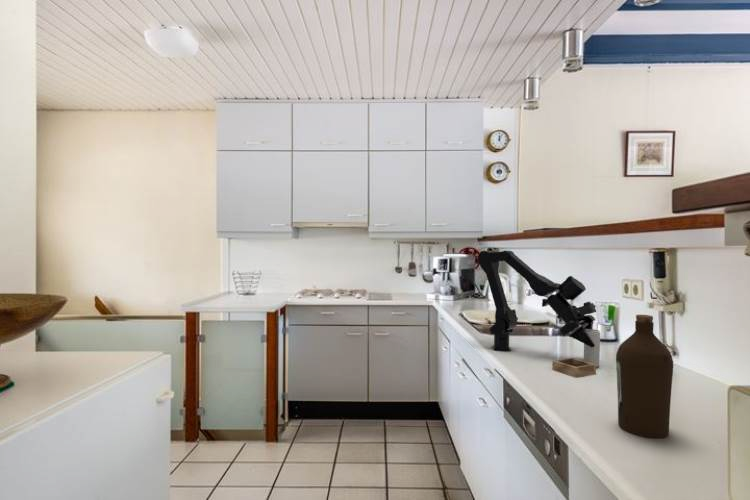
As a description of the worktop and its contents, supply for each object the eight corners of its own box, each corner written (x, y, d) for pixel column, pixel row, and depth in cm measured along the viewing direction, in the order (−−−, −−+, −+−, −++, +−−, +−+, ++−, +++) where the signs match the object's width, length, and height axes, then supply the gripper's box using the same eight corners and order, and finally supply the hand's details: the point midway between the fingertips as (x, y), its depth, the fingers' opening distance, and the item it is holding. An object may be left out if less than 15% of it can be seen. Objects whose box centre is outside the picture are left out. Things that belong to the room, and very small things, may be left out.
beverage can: (595, 364, 144) (596, 329, 144) (602, 368, 140) (602, 332, 140) (581, 363, 145) (581, 328, 145) (586, 367, 140) (587, 331, 140)
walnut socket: (552, 369, 138) (552, 360, 138) (571, 366, 142) (571, 357, 142) (576, 377, 130) (576, 368, 130) (595, 373, 134) (596, 364, 134)
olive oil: (675, 428, 93) (676, 315, 93) (668, 445, 85) (670, 321, 85) (620, 415, 100) (622, 310, 100) (610, 429, 92) (611, 315, 92)
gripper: (570, 296, 138) (606, 335, 131) (589, 292, 151) (623, 327, 144) (546, 317, 144) (579, 355, 136) (566, 311, 157) (598, 346, 149)
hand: (596, 345), depth 141 cm, fingers closed on beverage can, 5 cm apart
